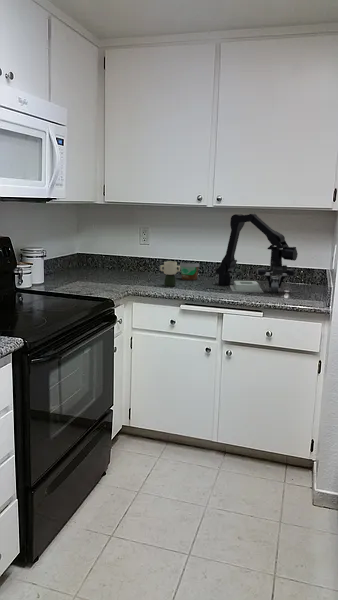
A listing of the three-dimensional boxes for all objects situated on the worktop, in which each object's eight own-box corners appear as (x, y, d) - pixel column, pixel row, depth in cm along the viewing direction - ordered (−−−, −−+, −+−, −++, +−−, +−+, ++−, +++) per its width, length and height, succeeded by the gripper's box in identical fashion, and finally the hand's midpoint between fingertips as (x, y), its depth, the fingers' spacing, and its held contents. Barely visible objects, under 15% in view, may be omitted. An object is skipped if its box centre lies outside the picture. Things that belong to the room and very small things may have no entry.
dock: (232, 292, 256) (233, 285, 255) (229, 286, 271) (230, 279, 271) (263, 292, 256) (263, 286, 255) (258, 286, 271) (259, 280, 270)
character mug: (180, 284, 272) (180, 261, 269) (179, 287, 265) (180, 263, 262) (160, 284, 273) (161, 260, 270) (159, 286, 266) (159, 262, 263)
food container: (175, 279, 288) (176, 262, 286) (180, 277, 294) (180, 261, 291) (195, 281, 283) (195, 264, 281) (199, 279, 289) (199, 262, 286)
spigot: (270, 292, 256) (271, 277, 254) (269, 290, 261) (270, 276, 259) (279, 292, 256) (280, 277, 254) (277, 291, 260) (278, 276, 259)
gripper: (260, 260, 247) (258, 290, 250) (298, 261, 247) (295, 291, 250) (257, 257, 258) (255, 286, 261) (293, 258, 257) (290, 287, 261)
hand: (274, 288), depth 258 cm, fingers closed on spigot, 4 cm apart
